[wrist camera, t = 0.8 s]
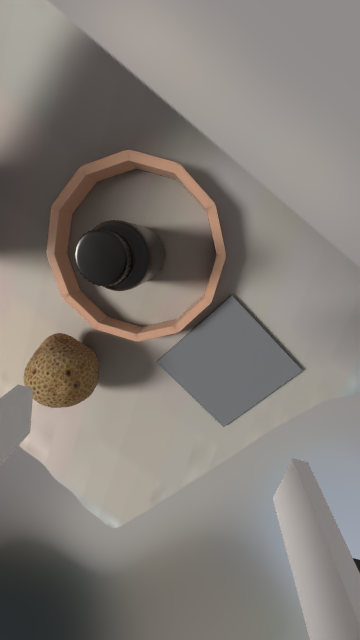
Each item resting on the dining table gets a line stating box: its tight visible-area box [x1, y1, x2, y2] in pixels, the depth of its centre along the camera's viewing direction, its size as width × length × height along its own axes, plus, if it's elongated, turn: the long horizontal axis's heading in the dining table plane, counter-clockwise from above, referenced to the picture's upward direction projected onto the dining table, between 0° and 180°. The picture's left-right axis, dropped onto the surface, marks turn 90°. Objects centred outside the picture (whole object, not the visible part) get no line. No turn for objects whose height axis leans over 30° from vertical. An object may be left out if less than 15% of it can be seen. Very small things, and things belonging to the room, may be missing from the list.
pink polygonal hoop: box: [46, 149, 226, 341], centre depth 31 cm, size 21×21×3 cm
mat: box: [157, 295, 302, 427], centre depth 35 cm, size 14×14×1 cm
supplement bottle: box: [75, 220, 165, 291], centre depth 27 cm, size 7×7×12 cm
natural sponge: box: [24, 333, 99, 408], centre depth 33 cm, size 9×9×10 cm
